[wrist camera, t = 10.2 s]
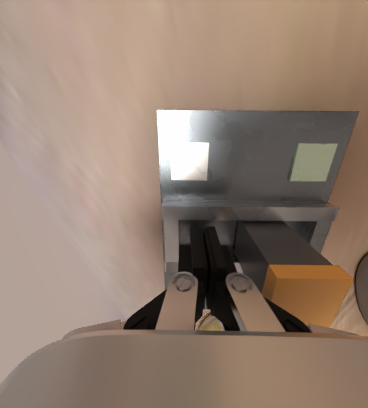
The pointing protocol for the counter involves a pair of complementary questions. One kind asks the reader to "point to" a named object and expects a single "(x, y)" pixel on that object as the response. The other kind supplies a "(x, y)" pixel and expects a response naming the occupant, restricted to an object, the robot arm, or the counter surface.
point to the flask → (363, 287)
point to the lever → (291, 271)
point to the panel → (248, 173)
